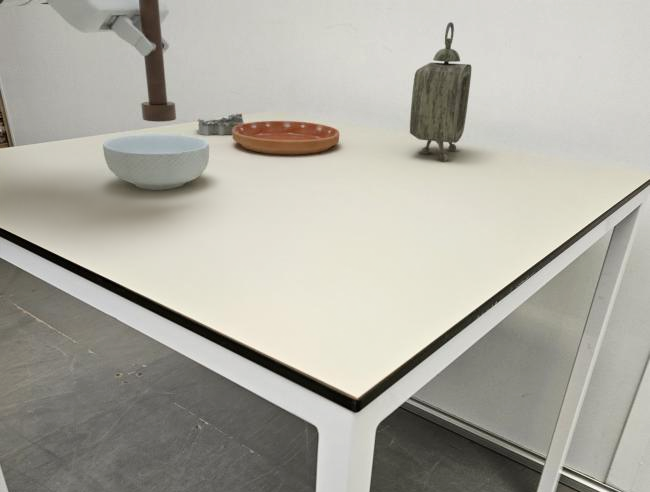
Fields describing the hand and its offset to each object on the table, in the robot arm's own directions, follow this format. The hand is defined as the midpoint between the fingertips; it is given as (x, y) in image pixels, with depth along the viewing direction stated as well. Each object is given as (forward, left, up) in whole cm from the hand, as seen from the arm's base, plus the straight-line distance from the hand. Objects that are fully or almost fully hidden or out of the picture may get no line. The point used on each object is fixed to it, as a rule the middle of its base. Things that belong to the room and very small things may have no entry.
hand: (157, 51), depth 78 cm
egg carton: (+35, +50, -22) cm, 65 cm away
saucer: (+40, +30, -22) cm, 54 cm away
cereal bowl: (+5, +15, -22) cm, 27 cm away
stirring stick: (0, 0, -8) cm, 8 cm away
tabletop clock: (+62, +7, -22) cm, 66 cm away
